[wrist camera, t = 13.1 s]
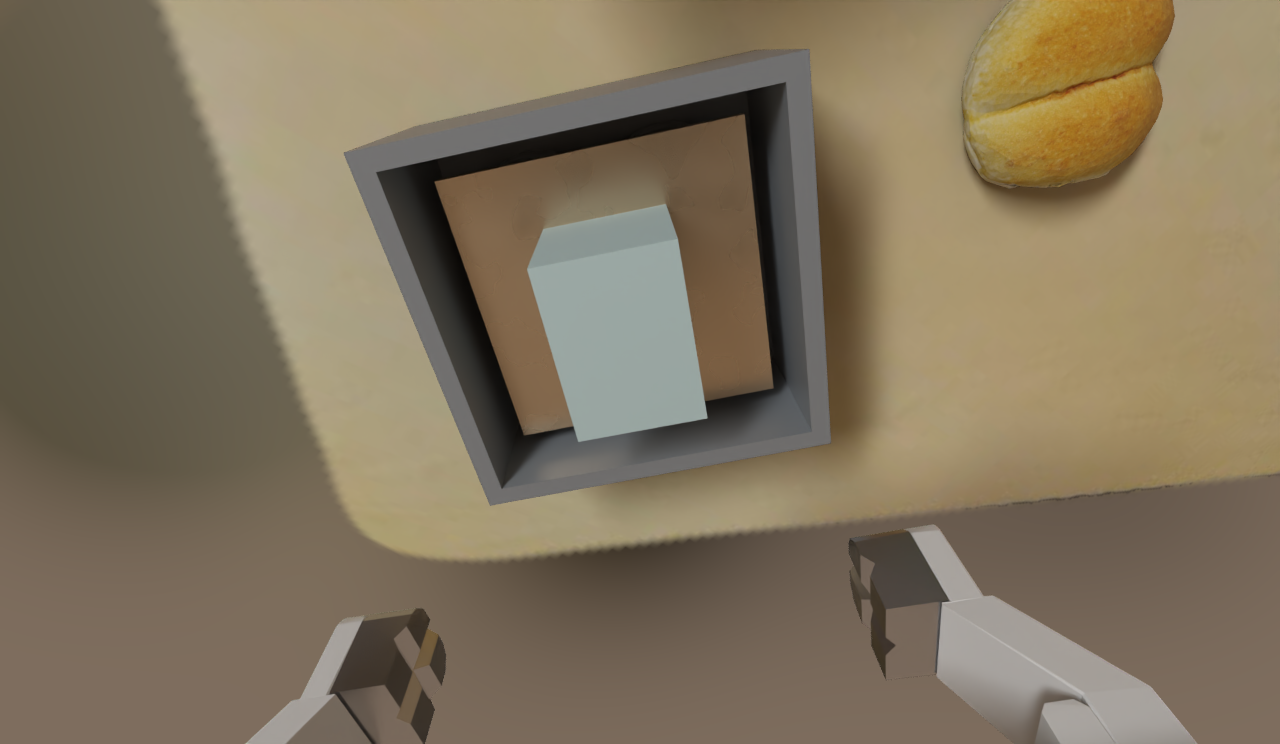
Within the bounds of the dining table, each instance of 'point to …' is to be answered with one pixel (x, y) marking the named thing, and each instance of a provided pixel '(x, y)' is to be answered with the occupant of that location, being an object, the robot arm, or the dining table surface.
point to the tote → (741, 83)
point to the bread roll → (1063, 89)
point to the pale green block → (619, 322)
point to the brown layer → (602, 186)
